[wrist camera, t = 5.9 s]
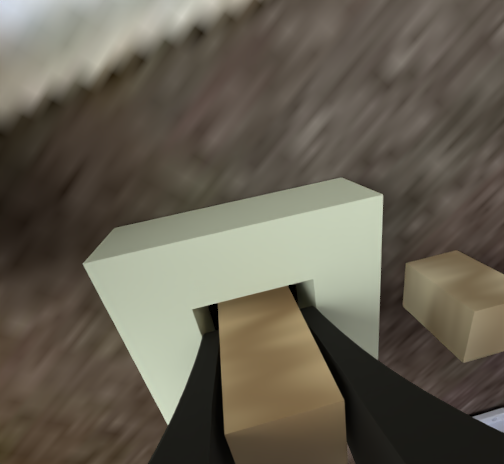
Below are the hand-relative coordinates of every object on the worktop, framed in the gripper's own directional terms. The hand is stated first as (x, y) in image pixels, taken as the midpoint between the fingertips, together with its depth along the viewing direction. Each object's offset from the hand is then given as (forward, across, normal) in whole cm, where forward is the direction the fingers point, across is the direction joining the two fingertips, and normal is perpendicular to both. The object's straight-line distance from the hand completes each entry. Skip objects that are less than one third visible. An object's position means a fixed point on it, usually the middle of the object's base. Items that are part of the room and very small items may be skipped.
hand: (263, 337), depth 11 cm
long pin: (+3, 0, 0) cm, 3 cm away
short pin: (+3, -10, +2) cm, 11 cm away
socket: (+3, 0, 0) cm, 3 cm away
